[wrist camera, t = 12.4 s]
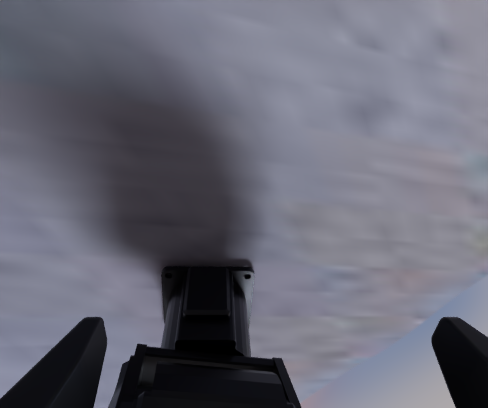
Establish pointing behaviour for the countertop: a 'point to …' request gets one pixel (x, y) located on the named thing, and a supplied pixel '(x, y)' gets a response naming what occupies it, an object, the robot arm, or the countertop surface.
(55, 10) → the countertop surface
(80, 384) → the robot arm
